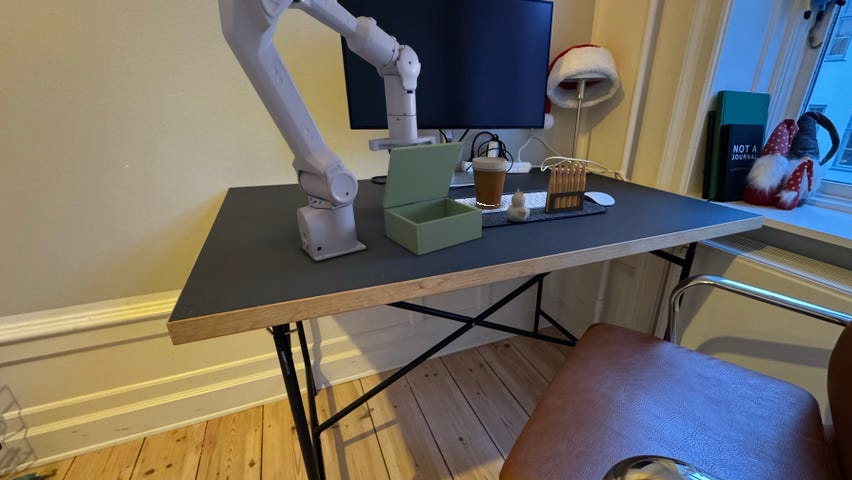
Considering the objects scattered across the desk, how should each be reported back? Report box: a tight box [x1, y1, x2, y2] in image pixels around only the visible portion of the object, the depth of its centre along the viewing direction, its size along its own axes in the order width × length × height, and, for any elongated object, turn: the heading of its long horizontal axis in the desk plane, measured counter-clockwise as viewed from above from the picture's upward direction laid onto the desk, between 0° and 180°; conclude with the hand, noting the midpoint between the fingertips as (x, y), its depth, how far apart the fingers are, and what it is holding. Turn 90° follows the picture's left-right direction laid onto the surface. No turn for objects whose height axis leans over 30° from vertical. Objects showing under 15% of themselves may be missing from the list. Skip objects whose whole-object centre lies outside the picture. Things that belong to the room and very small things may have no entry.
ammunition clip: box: [544, 162, 587, 215], centre depth 93 cm, size 11×2×12 cm, turn 112°
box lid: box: [382, 141, 463, 209], centre depth 74 cm, size 13×16×1 cm
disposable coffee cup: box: [470, 156, 509, 210], centre depth 95 cm, size 10×10×12 cm
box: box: [383, 196, 483, 256], centre depth 76 cm, size 13×16×6 cm
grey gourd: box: [506, 187, 531, 223], centre depth 85 cm, size 5×7×8 cm
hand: (406, 182), depth 80 cm, fingers closed
